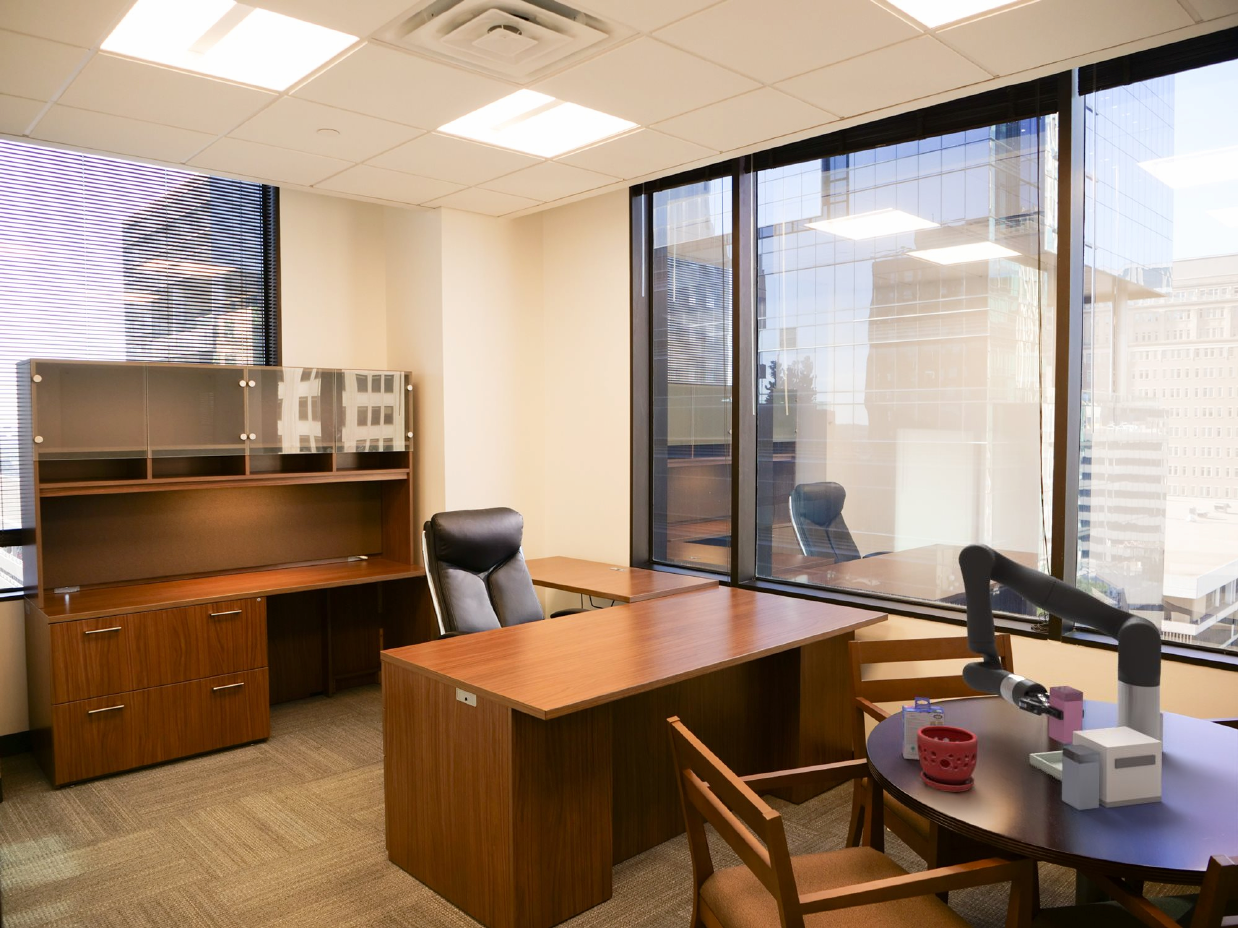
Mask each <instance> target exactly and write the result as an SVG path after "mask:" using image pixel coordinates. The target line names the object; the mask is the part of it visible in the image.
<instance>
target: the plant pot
mask: <svg viewBox="0 0 1238 928" xmlns="http://www.w3.org/2000/svg"><path fill="white" fill-rule="evenodd" d="M936 737H937V738H938V739H937V740H935V739H934V738H936ZM944 739H947V740H948V741H947V740H945V741H943V740H944ZM978 741H979V740H978V736H977V735H976V734H975V733H973V732H971V731H969V730H967V729H964V728H961V727H955V726H948V725H945V726H927V727H922V728H920V729H919V730H918V731H917V749H918V755H919V759H918V761H919V762H920V766H921V768H922V770H921V772H920V778H921V779H922V781H923V782H924V783H925V784H926V785H928V786H929V787H931V788H933V789H936V790H939V791H944V792H951V793H953V792H955V793H959V792H965V791H968V790H970V789H971V788H972V787H974V785H975V778H974V777H973V776H972V775H973V773H974V771H975V768H976V767H977V766H976V765H977V760H978V748H979V745H978V744H979V743H978Z"/></svg>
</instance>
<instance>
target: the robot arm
mask: <svg viewBox="0 0 1238 928" xmlns="http://www.w3.org/2000/svg"><path fill="white" fill-rule="evenodd" d="M958 565H959V569H960V572H961V576H962V581H963V586H964V592H965V603H966V632H967V633H966V634H967V637H966V638H967V648H968V650H969V651H970V652H972V653H974V654H979V655H981V656H982V659H983V660H982V661H973V662H972V661H971V662H969V663H966V664H965V666H964V667H963V669H962V671H961V672H962V678H963V679H962V680H963V681H964V683H965V684H966V685H967V686H968V687H970V688H971V689H973V690H975V691H978V692H981V693H982V692H983V693H987V694H991V695H996V696H998V697H1000V698H1001V699H1004V700H1006V701H1007V702H1009V703H1010V704H1012V705H1013V706H1016V707H1018V708H1019V709H1020V710H1022V711H1025V712H1028V713H1030V714H1033V715H1037V716H1043V715H1045V716H1046V717H1049V716H1052V717H1054V718H1056V719H1058V720H1063V711H1062V710H1059V709H1057V708H1055V707H1053V706H1050V705H1049V699H1050V692H1048V690H1047V688H1046V687H1045V686H1044V685H1043V684H1041V683H1038V682H1036V681H1033V680H1031V679H1029V678H1026V677H1025V676H1022V675H1017V674H1016V673H1012V672H1010V671H1007V670H1004V667H1003V665H1002V662H1001V660H1000V656H999V652H998V650H997V649H998V648H997V647H996V632H995V631H996V629H995V620H994V615H993V609H992V602H991V601H992V600H991V581H992V582H995V583H997V584H1000V585H1002V586H1004V587H1005V588H1008V589H1009V590H1011V591H1012V592H1013V593H1015V594H1016V595H1018V596H1019V597H1021V598H1022V599H1024V600H1025V601H1026V602H1028V603H1029V604H1031V605H1033V606H1034V607H1036V608H1039V609H1040V610H1042V611H1045V612H1047V613H1049V614H1051V615H1053V616H1055V617H1057V618H1060V619H1063V620H1066V621H1069V622H1071V623H1076V624H1080V625H1083V626H1087V627H1089V628H1092V629H1095V630H1096V631H1099V632H1101V633H1103V634H1105V635H1107V636H1109V637H1110V638H1112V639H1114V640H1115V641H1117V643H1118V644H1117V709H1116V710H1117V711H1116V712H1117V715H1116V716H1117V720H1116V721H1117V722H1116V723H1117V724H1116V725H1117V726H1116V727H1124V726H1126V727H1128V728H1130V729H1133V730H1135V731H1137V732H1140V733H1142V734H1145V735H1147V736H1149V737H1152V738H1154V739H1156V740H1159V741H1161V742H1162V752H1163V749H1164V748H1163V747H1164V744H1163V742H1164V713H1162V712H1161V674H1162V673H1161V672H1162V637H1161V633H1160V630H1159V628H1158V626H1157V625H1155V623H1154V622H1152V621H1151V620H1150V619H1147V618H1145V617H1142V616H1139V615H1136V614H1134V613H1131V612H1128V611H1126V610H1123V609H1120V608H1117V607H1114V606H1112V605H1111V604H1110V605H1109V603H1105V602H1104V601H1101V600H1100V599H1098V598H1096V597H1095V596H1093V595H1092V594H1089V593H1087V592H1086V591H1083V590H1082V589H1079V588H1077V587H1076V586H1074V585H1072V584H1070V583H1068V582H1066V581H1063V580H1061V579H1059V578H1056V577H1055V576H1051V575H1049V574H1047V573H1045V572H1044V571H1043V572H1042V571H1040V570H1037V569H1035V568H1032V567H1028V566H1026V565H1023V564H1021V563H1018V562H1016V561H1014V560H1013V559H1011V558H1009V557H1007V556H1005V555H1003V554H1002V553H1000V552H998V551H997V550H995V549H994V548H992V547H990V546H988V545H987V544H985V543H980V542H975V543H974V542H973V543H971V544H968V545H967V546H965V547H964V548H963V549H962V550H961V551H960V553H959V555H958ZM1084 718H1085V710H1084V709H1083V719H1084Z"/></svg>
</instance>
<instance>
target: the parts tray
mask: <svg viewBox="0 0 1238 928" xmlns="http://www.w3.org/2000/svg"><path fill="white" fill-rule="evenodd" d="M1030 764H1031V766H1032V765H1033V767H1034V766H1035V767H1034V768H1036V767H1037V768H1036V769H1038V770H1039V769H1041V770H1042V771H1041V770H1040V771H1041V772H1043V771H1044V772H1043V773H1045V772H1046V773H1045V774H1046V775H1048V774H1050V775H1052V776H1053V778H1054V777H1055V778H1054V779H1056V780H1058V781H1059V780H1060V781H1059V782H1061V783H1062V750H1058V751H1057V750H1056V751H1047V752H1038V753H1029V765H1030ZM1050 775H1049V776H1050ZM1052 776H1051V777H1052Z"/></svg>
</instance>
